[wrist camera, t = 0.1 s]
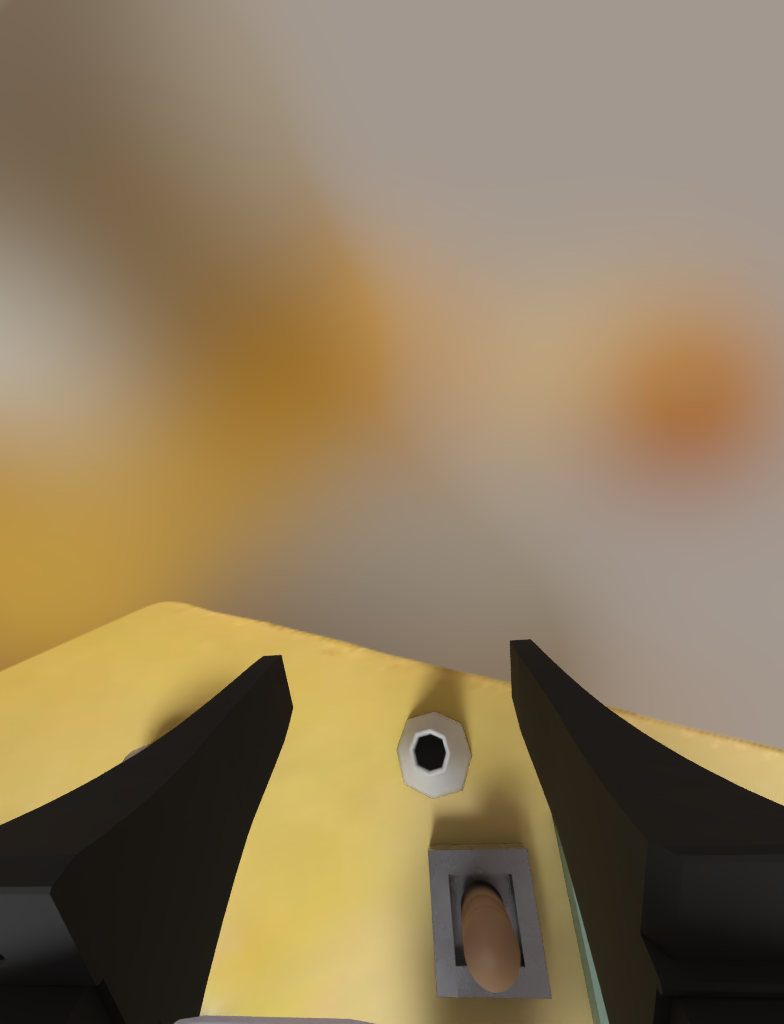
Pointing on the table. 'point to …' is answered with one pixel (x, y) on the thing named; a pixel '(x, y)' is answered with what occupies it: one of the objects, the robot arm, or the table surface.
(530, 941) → the square metal dish
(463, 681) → the table surface
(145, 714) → the table surface
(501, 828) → the table surface
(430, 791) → the flask
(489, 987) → the pin
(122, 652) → the table surface
